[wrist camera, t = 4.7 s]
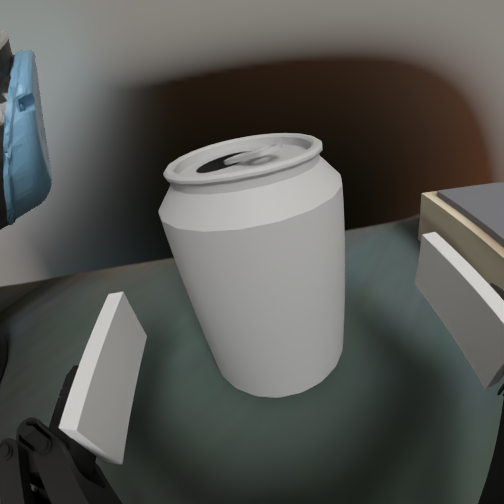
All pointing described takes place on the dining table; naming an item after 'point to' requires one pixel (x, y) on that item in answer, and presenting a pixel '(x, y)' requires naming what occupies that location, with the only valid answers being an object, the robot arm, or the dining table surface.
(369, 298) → the dining table surface
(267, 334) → the can
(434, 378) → the dining table surface
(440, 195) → the dock
